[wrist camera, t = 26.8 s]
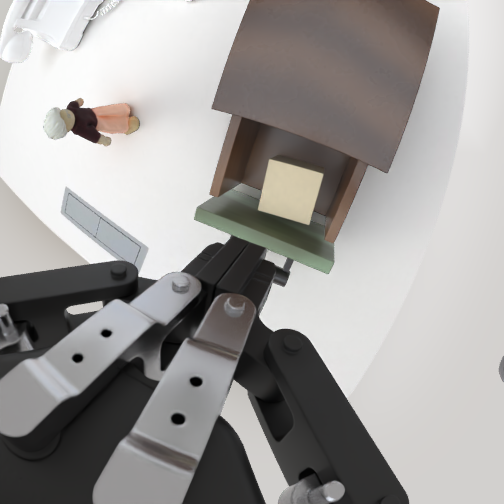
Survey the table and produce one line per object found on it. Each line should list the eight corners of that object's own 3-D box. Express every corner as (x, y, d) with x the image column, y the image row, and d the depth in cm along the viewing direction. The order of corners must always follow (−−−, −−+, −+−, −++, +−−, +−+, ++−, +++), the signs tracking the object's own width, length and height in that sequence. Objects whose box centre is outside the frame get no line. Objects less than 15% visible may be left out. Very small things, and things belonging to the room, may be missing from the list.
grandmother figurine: (151, 120, 30) (70, 125, 18) (136, 145, 31) (57, 161, 20) (114, 90, 29) (36, 90, 18) (101, 114, 31) (25, 123, 20)
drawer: (313, 273, 31) (307, 314, 24) (215, 232, 32) (184, 262, 25) (379, 119, 23) (398, 115, 16) (263, 77, 24) (240, 59, 17)
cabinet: (368, 160, 26) (387, 173, 17) (247, 114, 27) (211, 108, 18) (409, 40, 19) (439, 7, 11) (289, -2, 20) (270, -47, 12)
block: (324, 167, 25) (323, 173, 21) (312, 211, 27) (309, 225, 23) (278, 154, 26) (269, 158, 22) (268, 198, 28) (257, 210, 24)
